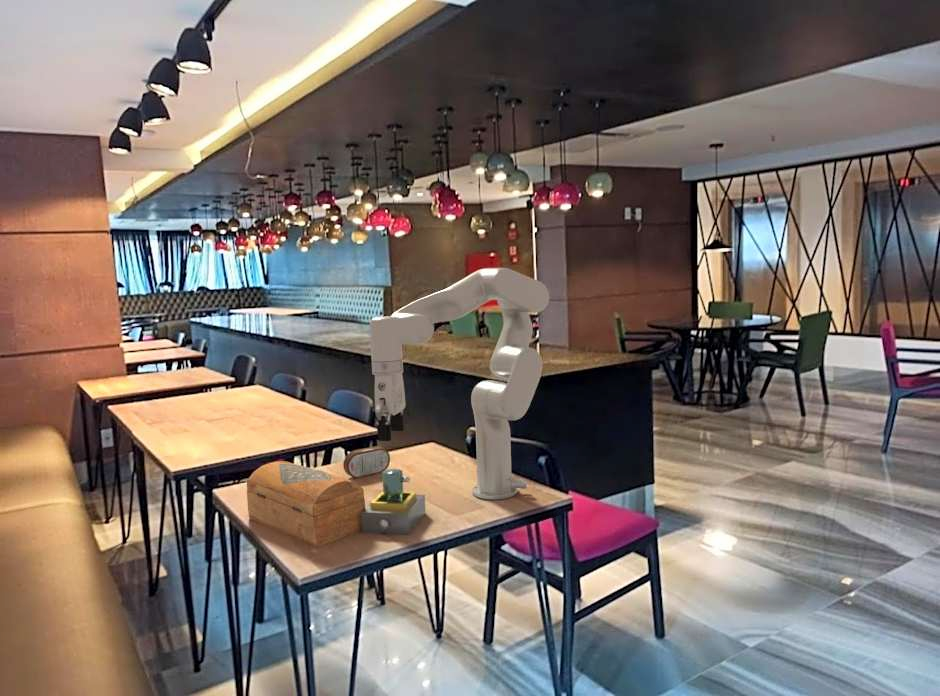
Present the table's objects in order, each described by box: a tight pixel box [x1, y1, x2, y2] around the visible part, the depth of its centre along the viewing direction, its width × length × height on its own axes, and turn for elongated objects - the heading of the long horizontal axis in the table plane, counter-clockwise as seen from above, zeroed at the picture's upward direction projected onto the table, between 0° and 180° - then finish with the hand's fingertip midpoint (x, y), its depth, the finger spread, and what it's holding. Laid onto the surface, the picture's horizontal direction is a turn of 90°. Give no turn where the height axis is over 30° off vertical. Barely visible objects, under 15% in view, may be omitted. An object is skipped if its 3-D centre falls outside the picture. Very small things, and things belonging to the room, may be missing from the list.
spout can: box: [381, 468, 411, 503], centre depth 171 cm, size 7×5×8 cm
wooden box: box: [246, 460, 366, 548], centre depth 173 cm, size 30×16×14 cm, turn 47°
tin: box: [343, 445, 391, 479], centre depth 212 cm, size 15×3×8 cm, turn 125°
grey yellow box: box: [361, 490, 426, 535], centre depth 171 cm, size 12×16×6 cm
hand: (391, 435), depth 170 cm, fingers open, 9 cm apart
